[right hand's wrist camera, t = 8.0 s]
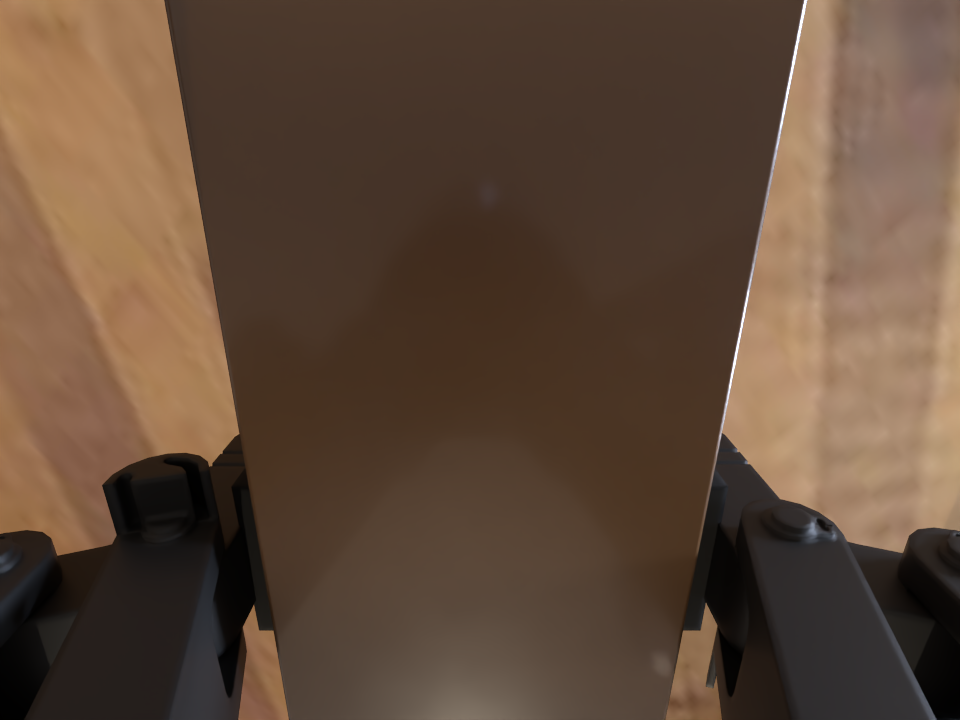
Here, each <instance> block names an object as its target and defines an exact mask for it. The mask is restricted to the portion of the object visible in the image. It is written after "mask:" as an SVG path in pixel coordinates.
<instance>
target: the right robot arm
mask: <svg viewBox="0 0 960 720" xmlns="http://www.w3.org/2000/svg"><path fill="white" fill-rule="evenodd" d="M102 487H103V490H104V493H105V497H106V500H107V503H108V507H109V510H110V514H111V517H112V520H113V524H114V527H115V530H116V534H117V536H116V538H115V540H114V542H113V544H112V545H108V546H104V547H99V548H94V549H89V550H84V551H79V552H74V553H69V554H64V555H59V556H57V554H56V551H55V548H54V545H53V542H52V539H51V538H50V537H49V536H47V535H46V534H45V533H43V532H38V531H29V530H25V531H18V532H10V533H3V534H0V720H238V716H239V708H240V700H241V692H242V684H243V677H244V669H245V661H246V653H247V649H246V642H245V636H244V632H243V625H244V623H245V621H246V619H247V617H248V615H249V613H250V611H251V609H252V607H253V605H254V606H255V611H256V616H257V621H258V626H259V630H274V629H273V624H272V618H271V612H270V606H269V600H268V595H267V589H266V583H265V577H264V572H263V566H262V560H261V554H260V549H259V543H258V537H257V531H256V525H255V520H254V514H253V508H252V502H251V497H250V491H249V485H248V479H247V474H246V468H245V462H244V456H243V451H242V445H241V439H240V434H239V435H237V436H236V437H234V439H233V440H232V441H231V442H230V443H229V445H228V446H227V447H226V448H225V449H224V450H223V454H220V455H219V456H218V457H217V459H216V460H215V461H214V462H213V465H212V466H210V467H209V465H208V461H206V460H205V459H204V458H202V457H201V456H199V455H194V454H189V453H173V454H164V455H159V456H155V457H150V458H146V459H144V460H141V461H139V462H136V463H133V464H131V465H128V466H126V467H125V468H123V469H121V470H120V471H118V472H116V473H115V474H113V475H112V476H111V477H110V478H109V479H108V480H107V481H106V482H105V483H104V484H103V485H102ZM706 603H707V605H708V607H709V609H710V611H711V613H712V615H713V617H714V619H715V621H716V623H717V625H718V627H717V632H716V636H715V641H714V646H713V651H712V655H711V660H710V665H709V670H708V675H707V682H706V687H710V688H714V683H715V679H716V676H717V683H718V691H719V699H720V707H721V714H722V720H960V531H956V530H947V529H940V528H926V529H918V530H916V531H915V532H914V533H912V534H911V535H910V536H909V538H908V541H907V544H906V546H905V549H904V552H903V553H898V552H893V551H888V550H883V549H878V548H873V547H868V546H863V545H858V544H854V543H850V542H847V541H846V539H845V537H844V535H843V534H842V532H841V531H840V530H839V529H838V527H837V526H836V525H835V524H834V523H833V522H832V521H830V520H829V519H828V518H826V517H825V516H823V515H822V514H820V513H819V512H817V511H815V510H812V509H810V508H808V507H805V506H803V505H801V504H797V503H793V502H789V501H785V500H781V499H779V498H778V496H777V495H776V494H775V493H774V492H773V491H772V489H771V488H770V487H769V486H768V485H767V484H766V482H765V481H764V480H763V479H762V478H761V477H760V475H759V474H758V473H757V472H756V471H755V470H754V468H753V467H752V466H751V465H750V464H748V463H747V460H746V459H745V458H744V457H743V456H742V454H741V453H740V452H737V449H736V447H735V446H734V445H733V444H732V443H731V442H730V440H729V439H728V438H727V437H726V436H725V435H724V434H722V435H721V440H720V445H719V450H718V455H717V460H716V465H715V470H714V475H713V480H712V485H711V490H710V495H709V501H708V506H707V511H706V516H705V521H704V526H703V531H702V536H701V541H700V546H699V551H698V556H697V561H696V566H695V572H694V577H693V582H692V587H691V592H690V597H689V602H688V607H687V612H686V617H685V622H684V627H683V630H700V629H701V624H702V619H703V614H704V609H705V604H706Z"/></svg>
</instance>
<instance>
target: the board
mask: <svg viewBox="0 0 960 720" xmlns="http://www.w3.org/2000/svg"><path fill="white" fill-rule="evenodd" d="M164 1H165V6H166V12H167V18H168V24H169V29H170V35H171V41H172V47H173V53H174V58H175V64H176V70H177V76H178V81H179V87H180V93H181V99H182V104H183V110H184V116H185V122H186V128H187V133H188V139H189V145H190V151H191V156H192V162H193V168H194V174H195V179H196V185H197V191H198V197H199V203H200V208H201V214H202V220H203V226H204V231H205V237H206V243H207V249H208V254H209V260H210V266H211V272H212V277H213V283H214V289H215V295H216V301H217V306H218V312H219V318H220V324H221V329H222V335H223V341H224V347H225V352H226V358H227V364H228V370H229V376H230V381H231V387H232V393H233V399H234V404H235V410H236V416H237V422H238V427H239V433H240V439H241V445H242V451H243V456H244V462H245V468H246V474H247V479H248V485H249V491H250V497H251V502H252V508H253V514H254V520H255V525H256V531H257V537H258V543H259V549H260V554H261V560H262V566H263V572H264V577H265V583H266V589H267V595H268V600H269V606H270V612H271V618H272V624H273V629H274V635H275V641H276V647H277V652H278V658H279V664H280V670H281V675H282V681H283V687H284V693H285V699H286V704H287V710H288V716H289V720H665V719H666V714H667V709H668V703H669V698H670V693H671V688H672V683H673V678H674V673H675V668H676V663H677V658H678V653H679V648H680V643H681V637H682V632H683V627H684V622H685V617H686V612H687V607H688V602H689V597H690V592H691V587H692V582H693V577H694V572H695V566H696V561H697V556H698V551H699V546H700V541H701V536H702V531H703V526H704V521H705V516H706V511H707V506H708V501H709V495H710V490H711V485H712V480H713V475H714V470H715V465H716V460H717V455H718V450H719V445H720V440H721V435H722V430H723V424H724V419H725V414H726V409H727V404H728V399H729V394H730V389H731V384H732V379H733V374H734V369H735V364H736V359H737V353H738V348H739V343H740V338H741V333H742V328H743V323H744V318H745V313H746V308H747V303H748V298H749V293H750V288H751V282H752V277H753V272H754V267H755V262H756V257H757V252H758V247H759V242H760V237H761V232H762V227H763V222H764V216H765V211H766V206H767V201H768V196H769V191H770V186H771V181H772V176H773V171H774V166H775V161H776V156H777V151H778V145H779V140H780V135H781V130H782V125H783V120H784V115H785V110H786V105H787V100H788V95H789V90H790V85H791V80H792V74H793V69H794V64H795V59H796V54H797V49H798V44H799V39H800V34H801V29H802V24H803V19H804V14H805V9H806V3H807V0H164Z"/></svg>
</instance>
